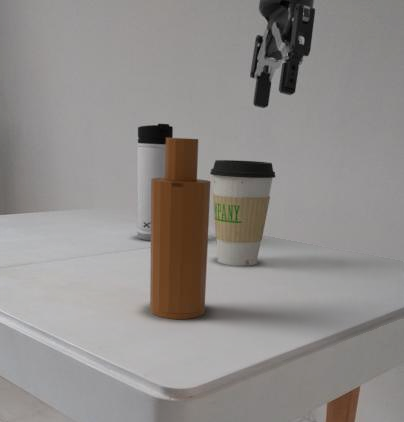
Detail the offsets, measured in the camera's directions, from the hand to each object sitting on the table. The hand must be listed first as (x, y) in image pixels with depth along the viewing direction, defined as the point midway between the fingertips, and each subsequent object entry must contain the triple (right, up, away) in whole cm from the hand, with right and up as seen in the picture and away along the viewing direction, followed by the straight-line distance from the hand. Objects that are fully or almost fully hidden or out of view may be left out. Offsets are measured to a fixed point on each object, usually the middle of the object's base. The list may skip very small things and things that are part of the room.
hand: (272, 100), depth 81 cm
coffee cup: (-5, -22, +8) cm, 24 cm away
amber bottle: (-13, -32, -18) cm, 39 cm away
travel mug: (-19, -15, +25) cm, 35 cm away
